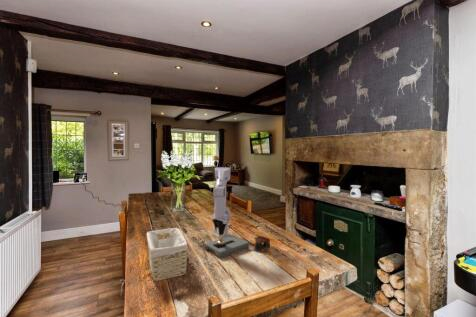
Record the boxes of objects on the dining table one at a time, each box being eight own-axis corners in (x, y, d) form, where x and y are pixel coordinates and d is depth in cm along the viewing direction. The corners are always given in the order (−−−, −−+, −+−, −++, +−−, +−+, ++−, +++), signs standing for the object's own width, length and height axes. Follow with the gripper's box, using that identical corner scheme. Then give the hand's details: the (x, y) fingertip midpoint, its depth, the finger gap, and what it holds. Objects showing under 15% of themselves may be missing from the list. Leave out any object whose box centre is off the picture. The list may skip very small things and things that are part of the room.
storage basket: (189, 276, 105) (188, 243, 104) (150, 284, 98) (149, 250, 98) (178, 253, 127) (178, 226, 126) (146, 259, 120) (146, 231, 119)
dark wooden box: (249, 249, 134) (253, 234, 137) (262, 253, 138) (266, 239, 141) (261, 251, 124) (265, 235, 127) (275, 256, 127) (278, 241, 130)
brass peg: (215, 242, 130) (215, 226, 130) (222, 240, 133) (222, 225, 132) (218, 245, 127) (218, 229, 126) (226, 243, 129) (225, 227, 128)
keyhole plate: (219, 259, 121) (219, 252, 121) (204, 249, 132) (204, 243, 131) (248, 248, 134) (248, 242, 133) (233, 240, 144) (233, 235, 144)
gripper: (232, 210, 124) (232, 236, 125) (220, 204, 137) (220, 228, 137) (220, 212, 120) (220, 238, 121) (209, 206, 133) (209, 230, 134)
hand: (219, 233), depth 129 cm, fingers closed on brass peg, 3 cm apart
